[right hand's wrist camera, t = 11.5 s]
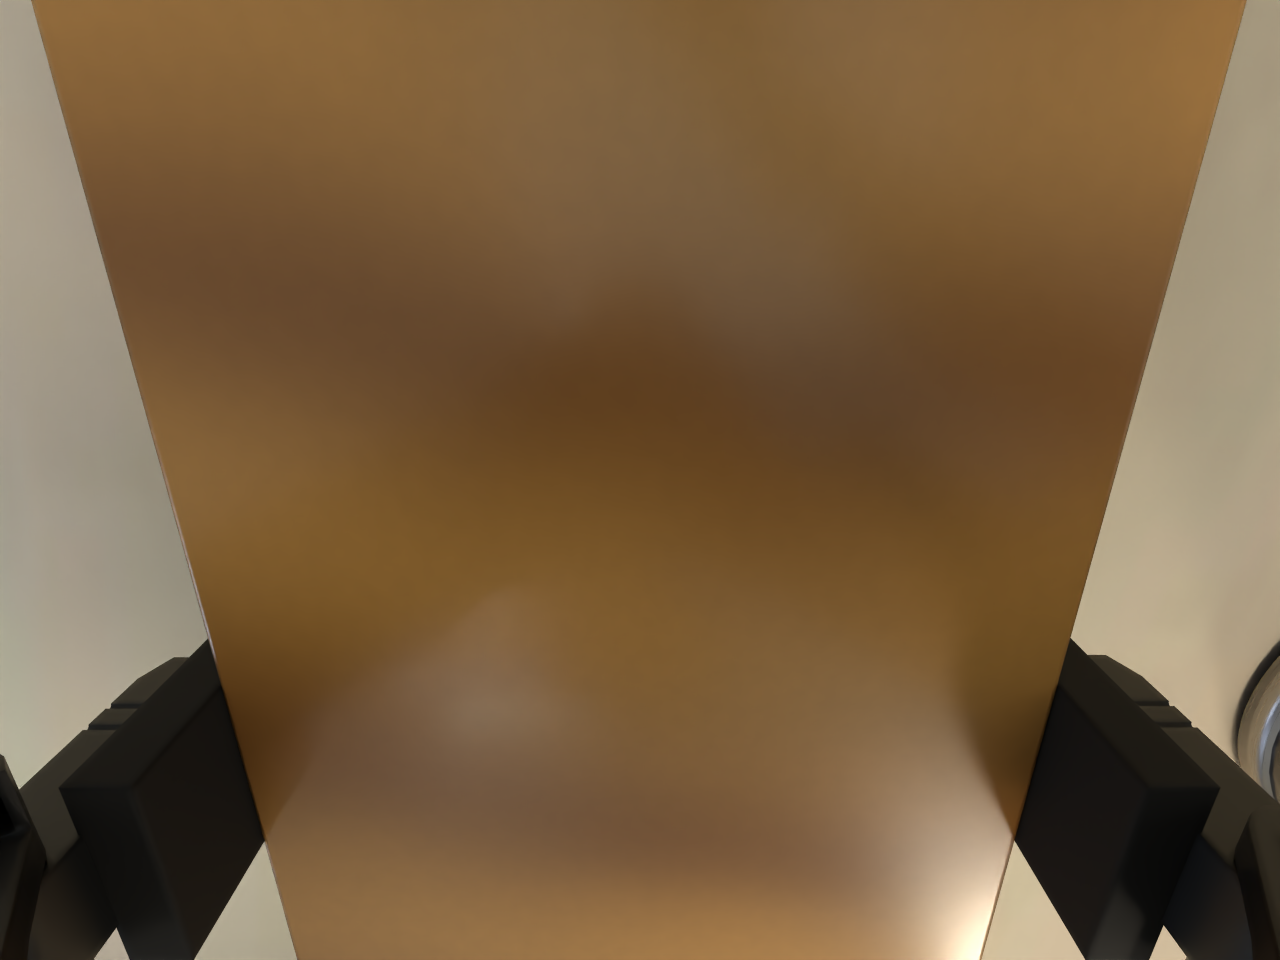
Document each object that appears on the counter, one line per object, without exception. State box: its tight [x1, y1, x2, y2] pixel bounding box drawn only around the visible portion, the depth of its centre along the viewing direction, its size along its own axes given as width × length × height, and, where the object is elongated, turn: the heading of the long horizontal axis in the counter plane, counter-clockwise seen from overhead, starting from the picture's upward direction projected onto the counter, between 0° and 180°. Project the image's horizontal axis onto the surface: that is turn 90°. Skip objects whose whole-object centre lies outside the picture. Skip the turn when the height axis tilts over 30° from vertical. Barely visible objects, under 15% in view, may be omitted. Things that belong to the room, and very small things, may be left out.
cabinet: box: [31, 0, 1247, 960], centre depth 11 cm, size 20×11×9 cm, turn 0°
